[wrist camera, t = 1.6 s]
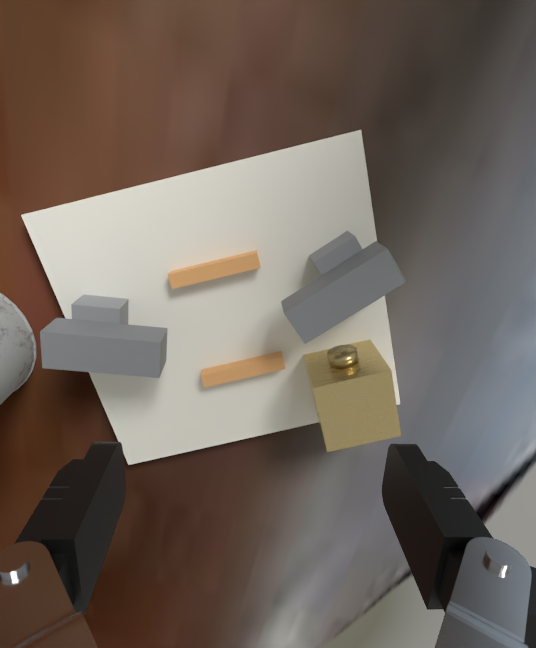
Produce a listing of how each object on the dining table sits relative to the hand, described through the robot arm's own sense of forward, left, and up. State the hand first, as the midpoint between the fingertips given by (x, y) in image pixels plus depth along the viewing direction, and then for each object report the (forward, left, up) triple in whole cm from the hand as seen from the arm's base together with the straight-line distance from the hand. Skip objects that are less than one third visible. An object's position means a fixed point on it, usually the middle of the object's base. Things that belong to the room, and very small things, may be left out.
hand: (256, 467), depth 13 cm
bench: (+2, +1, -19) cm, 20 cm away
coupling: (-5, +8, -18) cm, 20 cm away
